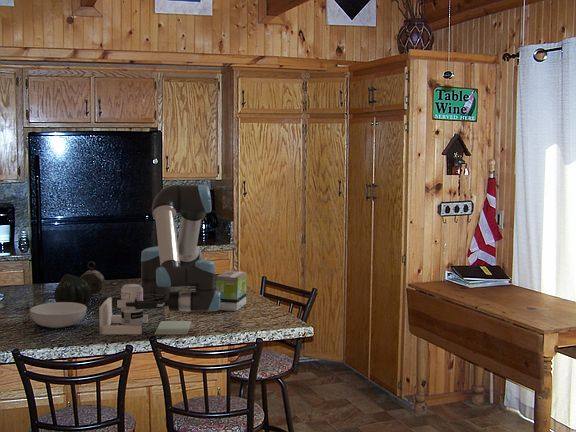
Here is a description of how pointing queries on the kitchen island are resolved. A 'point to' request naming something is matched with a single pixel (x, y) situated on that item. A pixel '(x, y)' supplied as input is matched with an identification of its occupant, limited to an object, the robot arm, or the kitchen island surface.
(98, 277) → the alarm clock
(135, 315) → the supplement can
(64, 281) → the squash
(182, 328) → the sage mat
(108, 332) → the open box
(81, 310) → the serving bowl
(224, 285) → the tea box
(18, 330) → the kitchen island surface
